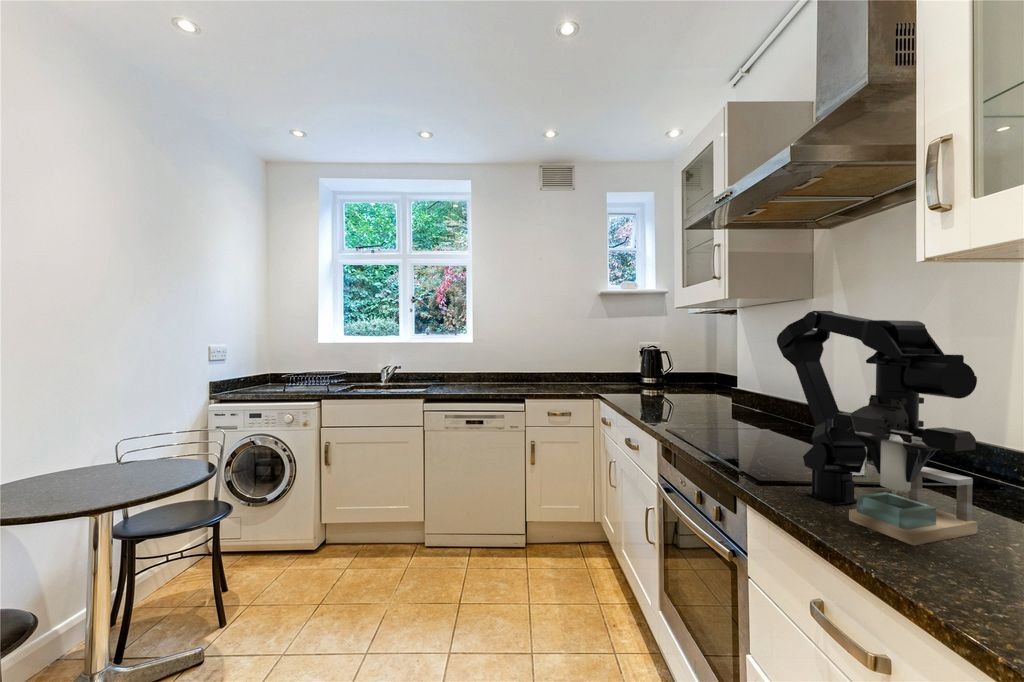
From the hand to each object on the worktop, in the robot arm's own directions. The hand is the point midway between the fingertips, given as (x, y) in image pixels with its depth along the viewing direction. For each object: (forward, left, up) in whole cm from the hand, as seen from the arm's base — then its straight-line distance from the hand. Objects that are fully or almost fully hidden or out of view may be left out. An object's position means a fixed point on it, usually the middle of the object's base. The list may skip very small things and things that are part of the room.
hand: (895, 478), depth 75 cm
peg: (0, 0, -2) cm, 2 cm away
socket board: (0, +4, -9) cm, 10 cm away
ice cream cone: (-12, +20, -9) cm, 25 cm away
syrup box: (-26, +26, -9) cm, 38 cm away
